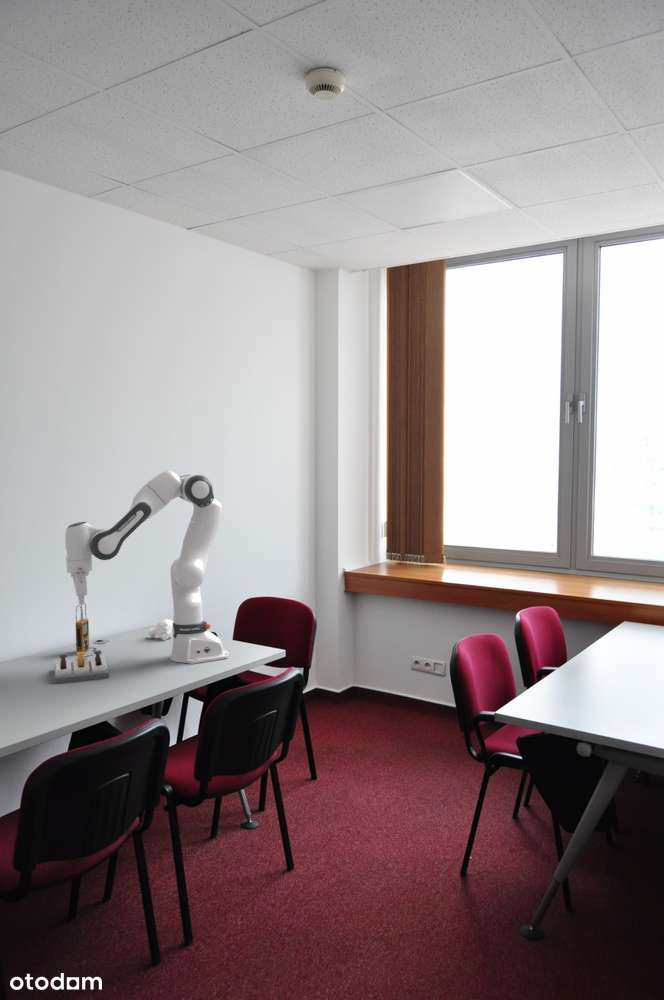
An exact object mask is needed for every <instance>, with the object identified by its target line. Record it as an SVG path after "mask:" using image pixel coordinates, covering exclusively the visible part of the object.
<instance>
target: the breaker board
mask: <svg viewBox="0 0 664 1000" xmlns="http://www.w3.org/2000/svg"><path fill="white" fill-rule="evenodd" d="M109 672H110V671H109V669H108V664H107V661H106V656H105V655H100V664H96V656H89V658H88V657H83V666H79V658H73V659H72V661H71V658H70V659H65V667H64V668H61V659H60V660H55V664H54V684H55V685H57V684H58V685H59V684H68V683H76V682H77V683H78V682H86V681H97V680H104V679H109V678H110V673H109Z"/></svg>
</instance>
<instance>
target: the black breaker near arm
mask: <svg viewBox="0 0 664 1000" xmlns="http://www.w3.org/2000/svg"><path fill="white" fill-rule="evenodd" d="M93 654H94V655H95V657H96V664H100V656H101V654H102V650H101V649H98V650H94V651H93Z"/></svg>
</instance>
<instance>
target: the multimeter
mask: <svg viewBox="0 0 664 1000" xmlns="http://www.w3.org/2000/svg"><path fill="white" fill-rule="evenodd" d="M83 605H84V606H85V609H84V613H85V614H84V613H83ZM83 605H80V604H78V605H76V607H75V612H78V611H77V609H78V607H80V619H79V620H78V619H77V618H78V617H77V615H75V646H76V647H75V648H76V649H75V650H76V653H77V652H84V654H86V653H87V652H89V651H90V631H89V629H90V628H89V627H90V625H89V619H88V618H84V615H85V617H87V606H86V603H85V602H84V604H83ZM92 651H93V652H94V651H97V648H96V647H93V650H92ZM94 655H95V654H94V653H90V654H87V655H83V658H87V657H92V656H94Z"/></svg>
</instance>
